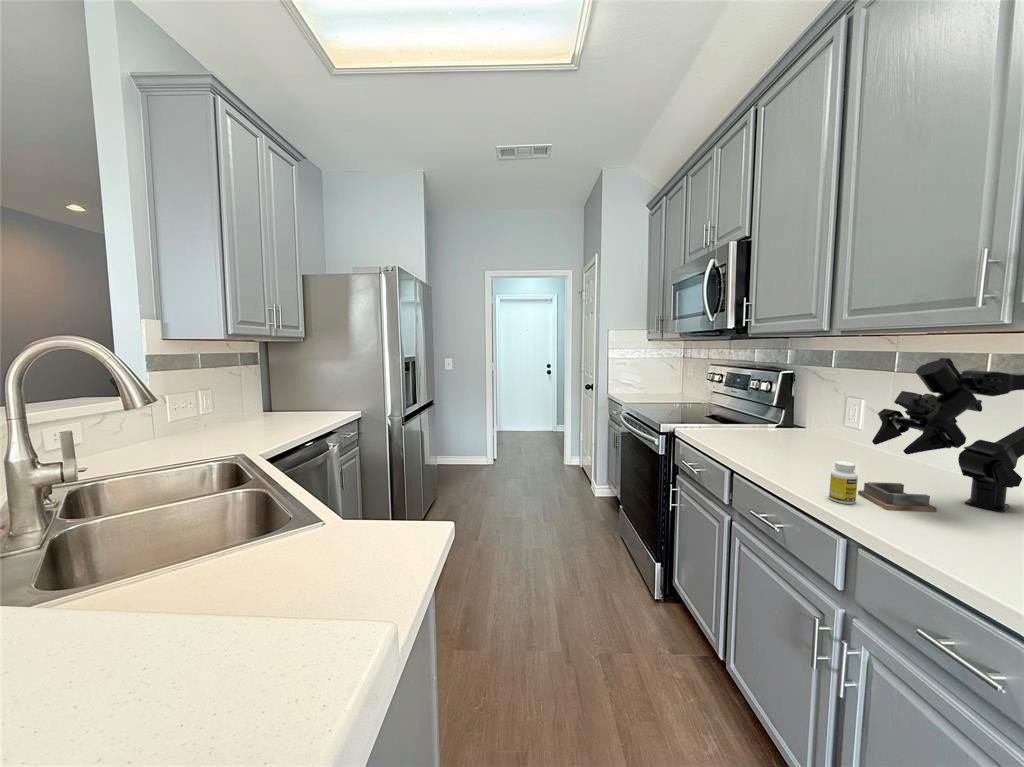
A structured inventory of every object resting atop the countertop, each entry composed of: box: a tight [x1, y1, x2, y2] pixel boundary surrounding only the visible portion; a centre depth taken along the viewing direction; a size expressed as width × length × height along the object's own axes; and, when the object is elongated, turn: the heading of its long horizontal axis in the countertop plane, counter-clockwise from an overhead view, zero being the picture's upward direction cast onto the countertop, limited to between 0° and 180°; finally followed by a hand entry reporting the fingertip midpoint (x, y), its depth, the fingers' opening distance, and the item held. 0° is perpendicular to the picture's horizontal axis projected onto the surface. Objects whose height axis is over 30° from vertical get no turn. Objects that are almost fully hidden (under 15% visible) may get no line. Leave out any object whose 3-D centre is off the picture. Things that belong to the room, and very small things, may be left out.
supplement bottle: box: [828, 460, 859, 505], centre depth 110 cm, size 5×5×10 cm
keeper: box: [857, 481, 938, 513], centre depth 108 cm, size 11×11×4 cm
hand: (888, 447), depth 105 cm, fingers open, 9 cm apart
